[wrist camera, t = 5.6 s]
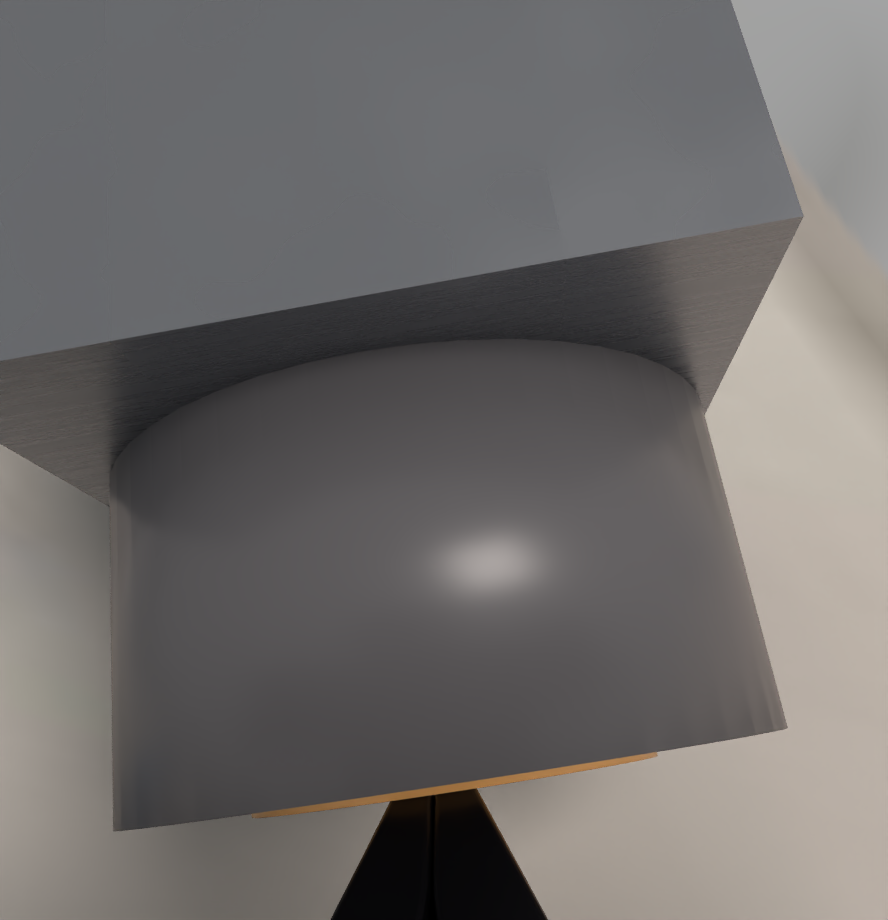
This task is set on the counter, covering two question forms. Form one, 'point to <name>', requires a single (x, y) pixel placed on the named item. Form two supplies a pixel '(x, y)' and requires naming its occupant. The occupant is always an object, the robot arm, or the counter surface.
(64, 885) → the counter surface
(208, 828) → the counter surface
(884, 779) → the counter surface
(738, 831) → the counter surface
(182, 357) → the mount
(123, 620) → the knob
